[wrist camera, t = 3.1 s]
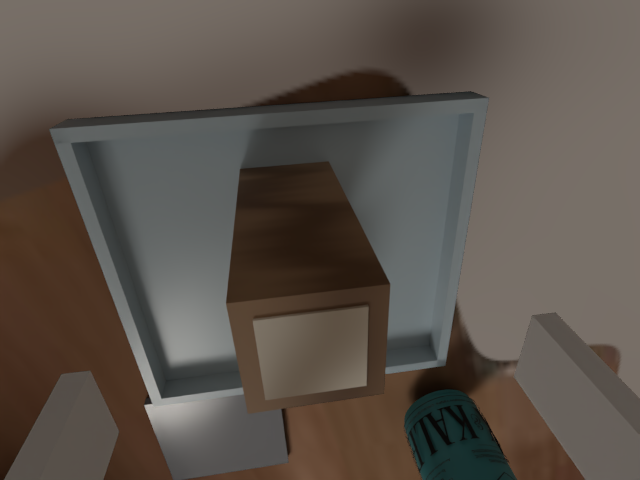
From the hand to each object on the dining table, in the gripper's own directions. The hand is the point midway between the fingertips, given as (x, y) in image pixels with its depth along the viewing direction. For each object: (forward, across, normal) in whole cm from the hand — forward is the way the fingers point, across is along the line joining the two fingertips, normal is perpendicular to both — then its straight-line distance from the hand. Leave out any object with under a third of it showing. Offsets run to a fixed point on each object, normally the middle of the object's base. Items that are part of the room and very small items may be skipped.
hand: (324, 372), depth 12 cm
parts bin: (+13, 0, -4) cm, 14 cm away
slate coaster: (+13, -7, -20) cm, 25 cm away
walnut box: (+13, 0, 0) cm, 13 cm away
